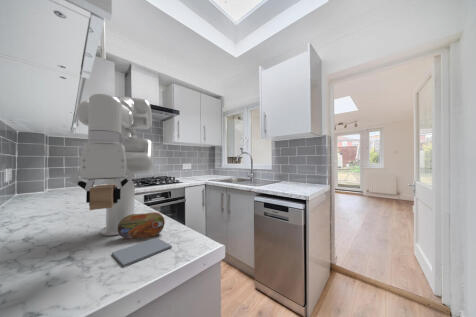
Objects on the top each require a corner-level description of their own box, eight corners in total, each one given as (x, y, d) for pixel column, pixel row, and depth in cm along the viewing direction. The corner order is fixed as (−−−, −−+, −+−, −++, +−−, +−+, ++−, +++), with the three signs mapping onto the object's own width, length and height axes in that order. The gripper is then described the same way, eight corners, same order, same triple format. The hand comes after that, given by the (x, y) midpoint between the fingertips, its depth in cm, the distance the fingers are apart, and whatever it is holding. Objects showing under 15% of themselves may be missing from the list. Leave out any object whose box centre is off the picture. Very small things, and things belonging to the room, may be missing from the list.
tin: (117, 240, 59) (117, 216, 59) (120, 237, 62) (121, 213, 62) (164, 235, 63) (164, 212, 63) (165, 232, 66) (165, 210, 66)
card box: (97, 203, 51) (98, 184, 51) (116, 201, 53) (116, 183, 53) (89, 210, 43) (90, 187, 43) (111, 207, 45) (111, 186, 45)
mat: (111, 254, 49) (111, 252, 49) (156, 239, 59) (156, 237, 59) (123, 267, 43) (123, 264, 43) (171, 247, 53) (171, 245, 53)
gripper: (138, 142, 56) (138, 198, 56) (67, 139, 47) (65, 205, 46) (140, 139, 50) (139, 202, 49) (59, 134, 41) (56, 211, 40)
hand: (104, 203), depth 48 cm, fingers closed on card box, 4 cm apart
